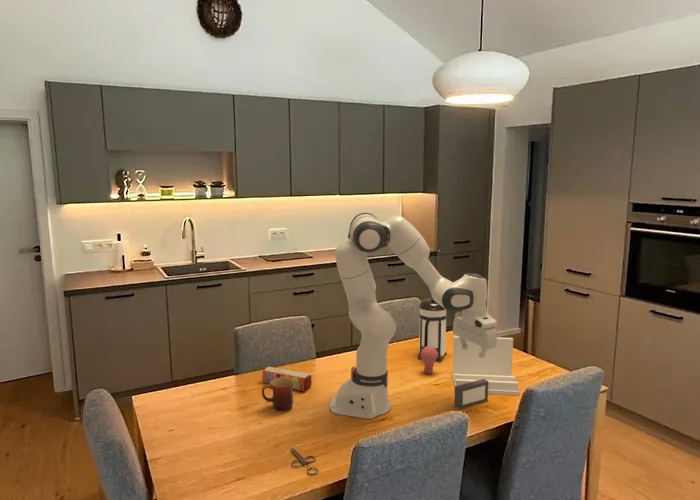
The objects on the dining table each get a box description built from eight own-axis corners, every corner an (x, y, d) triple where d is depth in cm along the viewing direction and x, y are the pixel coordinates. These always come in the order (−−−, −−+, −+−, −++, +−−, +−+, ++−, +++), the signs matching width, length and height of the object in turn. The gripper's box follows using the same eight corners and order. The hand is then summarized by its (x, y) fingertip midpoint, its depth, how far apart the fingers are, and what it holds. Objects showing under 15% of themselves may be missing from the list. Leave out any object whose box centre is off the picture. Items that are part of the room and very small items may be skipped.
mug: (292, 401, 195) (292, 375, 193) (296, 411, 187) (296, 385, 185) (261, 405, 192) (260, 379, 190) (263, 416, 184) (262, 389, 182)
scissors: (299, 444, 166) (299, 439, 165) (326, 472, 150) (326, 467, 150) (277, 451, 162) (277, 446, 161) (303, 481, 146) (303, 475, 146)
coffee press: (408, 353, 244) (409, 292, 239) (439, 349, 248) (440, 289, 244) (424, 366, 227) (425, 301, 223) (456, 362, 232) (458, 298, 227)
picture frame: (459, 409, 188) (459, 389, 186) (453, 406, 190) (454, 386, 189) (487, 401, 194) (488, 381, 193) (482, 398, 197) (483, 378, 195)
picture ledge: (455, 392, 202) (456, 350, 199) (452, 375, 218) (453, 335, 215) (518, 395, 199) (520, 352, 196) (510, 377, 215) (512, 337, 213)
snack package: (260, 384, 211) (260, 368, 210) (270, 378, 217) (270, 363, 216) (304, 394, 201) (303, 378, 200) (313, 388, 207) (312, 372, 206)
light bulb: (436, 370, 224) (437, 343, 222) (437, 376, 217) (438, 349, 215) (420, 369, 224) (420, 343, 222) (420, 376, 217) (421, 349, 215)
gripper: (449, 311, 194) (448, 346, 197) (486, 325, 177) (485, 363, 179) (462, 309, 197) (461, 343, 200) (500, 323, 179) (499, 360, 182)
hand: (473, 353), depth 189 cm, fingers open, 8 cm apart
